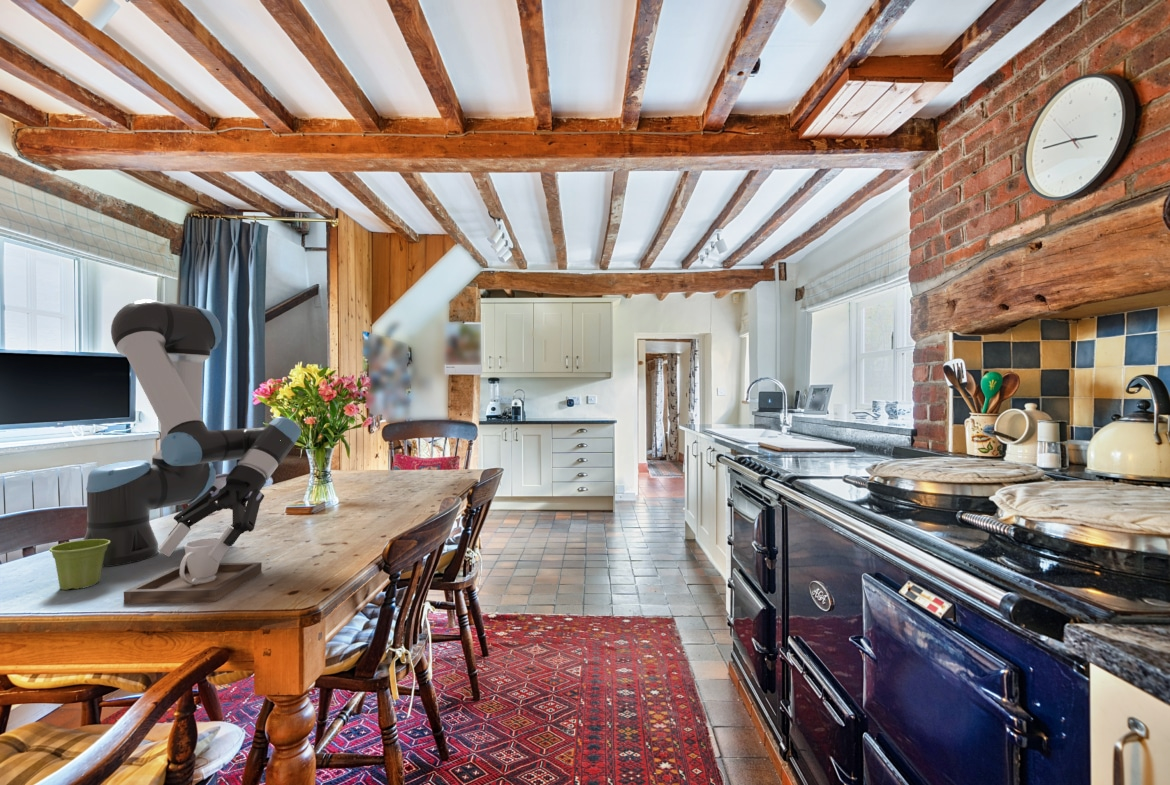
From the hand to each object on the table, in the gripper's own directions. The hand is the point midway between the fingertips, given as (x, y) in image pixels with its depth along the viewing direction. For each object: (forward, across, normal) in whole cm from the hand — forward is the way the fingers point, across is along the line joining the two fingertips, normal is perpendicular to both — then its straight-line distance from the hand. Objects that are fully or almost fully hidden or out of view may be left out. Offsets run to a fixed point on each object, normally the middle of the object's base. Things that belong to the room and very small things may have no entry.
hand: (187, 556), depth 110 cm
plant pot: (+8, +25, -2) cm, 26 cm away
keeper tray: (+3, 0, -7) cm, 8 cm away
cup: (+3, 0, -6) cm, 7 cm away
